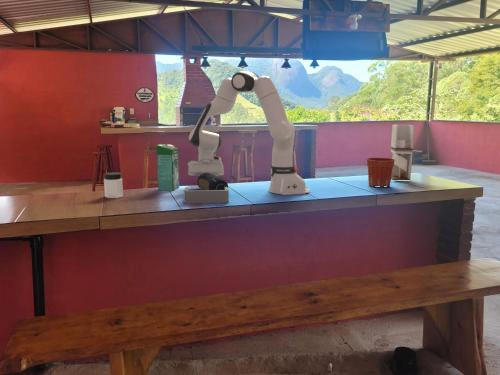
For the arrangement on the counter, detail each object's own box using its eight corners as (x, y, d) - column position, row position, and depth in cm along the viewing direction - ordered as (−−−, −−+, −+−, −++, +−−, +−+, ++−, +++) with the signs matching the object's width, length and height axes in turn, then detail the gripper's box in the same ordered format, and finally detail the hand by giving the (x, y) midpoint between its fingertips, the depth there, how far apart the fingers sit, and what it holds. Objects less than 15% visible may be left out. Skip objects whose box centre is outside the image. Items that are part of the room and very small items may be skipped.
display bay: (227, 198, 215) (227, 186, 214) (228, 202, 206) (228, 190, 205) (185, 199, 213) (185, 187, 212) (184, 203, 204) (184, 191, 203)
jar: (113, 194, 223) (112, 171, 221) (126, 195, 220) (125, 172, 218) (101, 197, 215) (100, 174, 213) (114, 199, 212) (113, 175, 210)
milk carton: (173, 190, 234) (172, 145, 229) (157, 190, 236) (156, 144, 231) (179, 187, 243) (178, 143, 238) (164, 187, 244) (162, 143, 240)
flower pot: (359, 185, 254) (360, 158, 251) (374, 182, 265) (376, 156, 262) (383, 189, 242) (385, 161, 239) (399, 186, 252) (401, 159, 249)
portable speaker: (195, 190, 237) (194, 172, 235) (211, 188, 241) (211, 171, 239) (212, 198, 215) (212, 179, 213) (230, 197, 219) (230, 177, 217)
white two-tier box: (388, 178, 279) (392, 124, 272) (405, 179, 278) (409, 125, 271) (392, 181, 268) (396, 125, 261) (410, 182, 267) (414, 125, 260)
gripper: (187, 157, 243) (187, 177, 235) (223, 157, 245) (224, 177, 237) (188, 164, 248) (187, 183, 241) (223, 164, 250) (224, 183, 243)
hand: (206, 180), depth 239 cm, fingers closed
